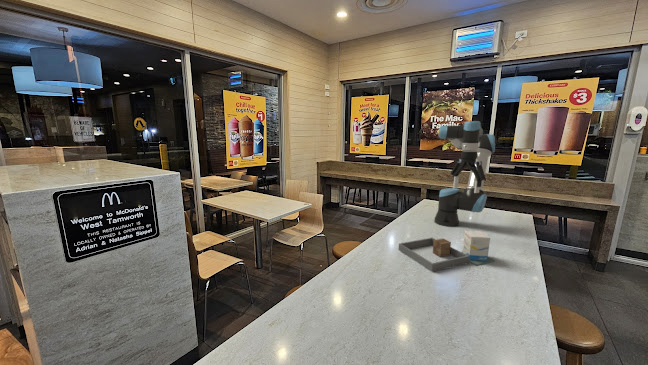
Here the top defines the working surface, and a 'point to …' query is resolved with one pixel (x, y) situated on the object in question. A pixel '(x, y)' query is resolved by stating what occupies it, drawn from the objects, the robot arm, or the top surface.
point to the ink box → (476, 245)
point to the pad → (477, 262)
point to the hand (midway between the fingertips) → (465, 190)
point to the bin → (405, 249)
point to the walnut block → (441, 247)
